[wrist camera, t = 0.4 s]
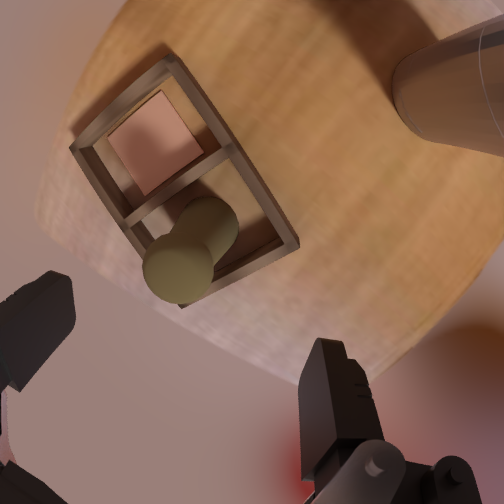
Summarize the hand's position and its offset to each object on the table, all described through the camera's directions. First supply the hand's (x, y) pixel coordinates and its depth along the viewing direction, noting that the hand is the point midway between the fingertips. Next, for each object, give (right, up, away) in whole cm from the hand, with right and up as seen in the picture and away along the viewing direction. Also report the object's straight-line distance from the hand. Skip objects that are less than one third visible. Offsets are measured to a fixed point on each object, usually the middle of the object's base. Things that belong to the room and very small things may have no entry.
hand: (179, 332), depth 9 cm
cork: (-2, +5, +21) cm, 22 cm away
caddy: (-5, +9, +19) cm, 22 cm away
